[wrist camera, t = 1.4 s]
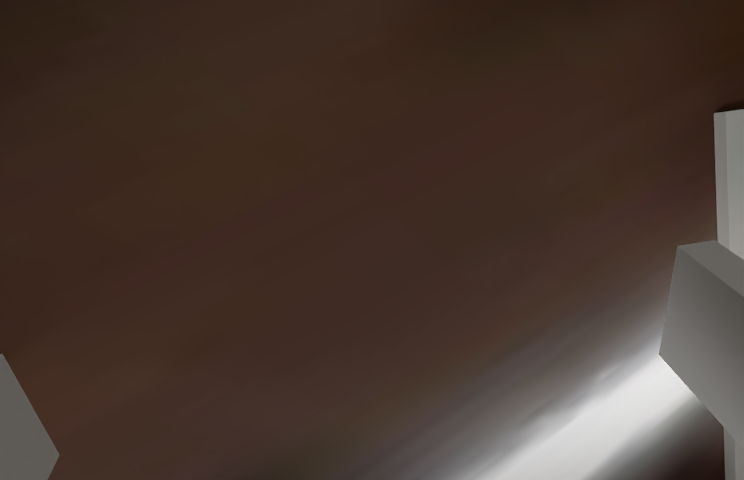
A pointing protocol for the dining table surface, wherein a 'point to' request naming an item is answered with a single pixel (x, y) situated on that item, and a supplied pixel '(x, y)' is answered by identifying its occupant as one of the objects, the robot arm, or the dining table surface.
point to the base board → (730, 227)
